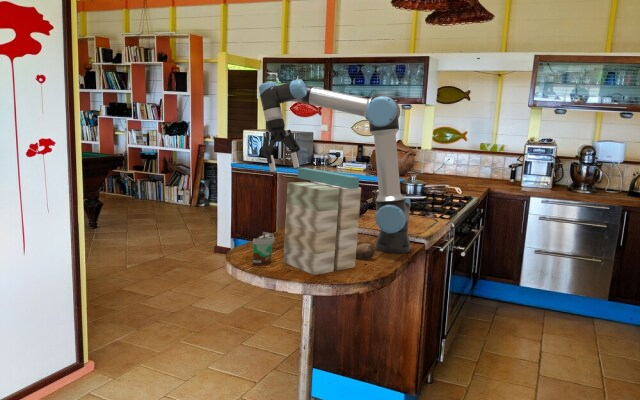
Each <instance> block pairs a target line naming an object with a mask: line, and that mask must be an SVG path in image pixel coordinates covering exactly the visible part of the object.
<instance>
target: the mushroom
mask: <svg viewBox="0 0 640 400" xmlns="http://www.w3.org/2000/svg"><path fill="white" fill-rule="evenodd" d="M374 255H375V247H373V245H372V244H370V243H367V242H366V243H361V244H357V247H356V259H359V260H365V261H366V260H367V261H368V260H370V259H372V258H373V257H374Z"/></svg>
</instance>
